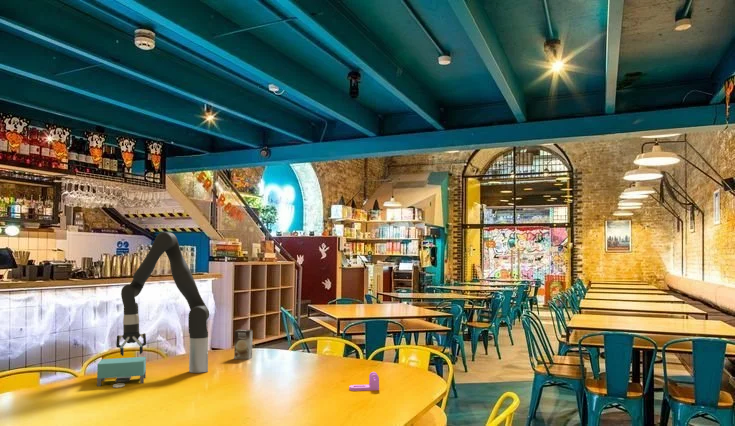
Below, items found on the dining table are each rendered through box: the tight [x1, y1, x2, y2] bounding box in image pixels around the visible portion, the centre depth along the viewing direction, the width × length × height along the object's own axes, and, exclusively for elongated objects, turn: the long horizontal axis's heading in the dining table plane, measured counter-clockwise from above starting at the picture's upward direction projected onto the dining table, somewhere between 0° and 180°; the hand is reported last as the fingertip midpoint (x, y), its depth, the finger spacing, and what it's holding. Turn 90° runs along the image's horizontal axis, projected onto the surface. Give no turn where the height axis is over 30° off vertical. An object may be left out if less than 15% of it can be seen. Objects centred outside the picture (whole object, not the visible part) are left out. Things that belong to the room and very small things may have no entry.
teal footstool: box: [96, 356, 147, 387], centre depth 282 cm, size 20×13×10 cm, turn 106°
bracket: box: [348, 371, 380, 392], centre depth 264 cm, size 13×6×7 cm, turn 96°
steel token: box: [112, 382, 126, 389], centre depth 272 cm, size 5×5×1 cm
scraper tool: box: [115, 376, 132, 384], centre depth 295 cm, size 28×6×6 cm, turn 17°
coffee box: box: [233, 328, 253, 360], centre depth 341 cm, size 9×6×16 cm
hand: (131, 354), depth 305 cm, fingers open, 8 cm apart
